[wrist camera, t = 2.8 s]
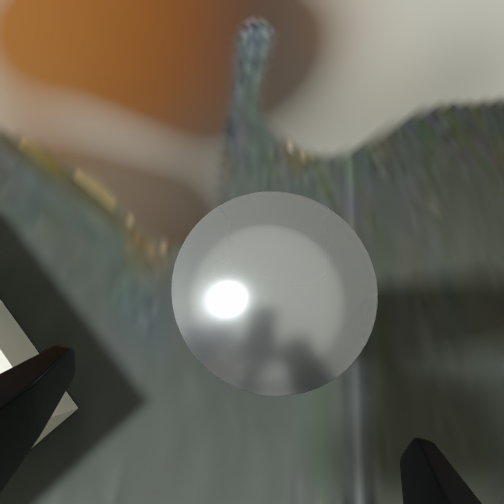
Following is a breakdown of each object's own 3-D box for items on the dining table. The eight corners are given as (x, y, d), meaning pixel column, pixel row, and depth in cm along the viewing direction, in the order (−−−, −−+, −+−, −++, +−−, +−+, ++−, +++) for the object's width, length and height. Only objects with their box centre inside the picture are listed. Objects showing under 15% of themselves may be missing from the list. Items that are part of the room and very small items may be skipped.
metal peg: (297, 334, 19) (418, 292, 7) (244, 386, 18) (272, 448, 6) (249, 282, 20) (279, 157, 7) (197, 329, 19) (128, 276, 6)
